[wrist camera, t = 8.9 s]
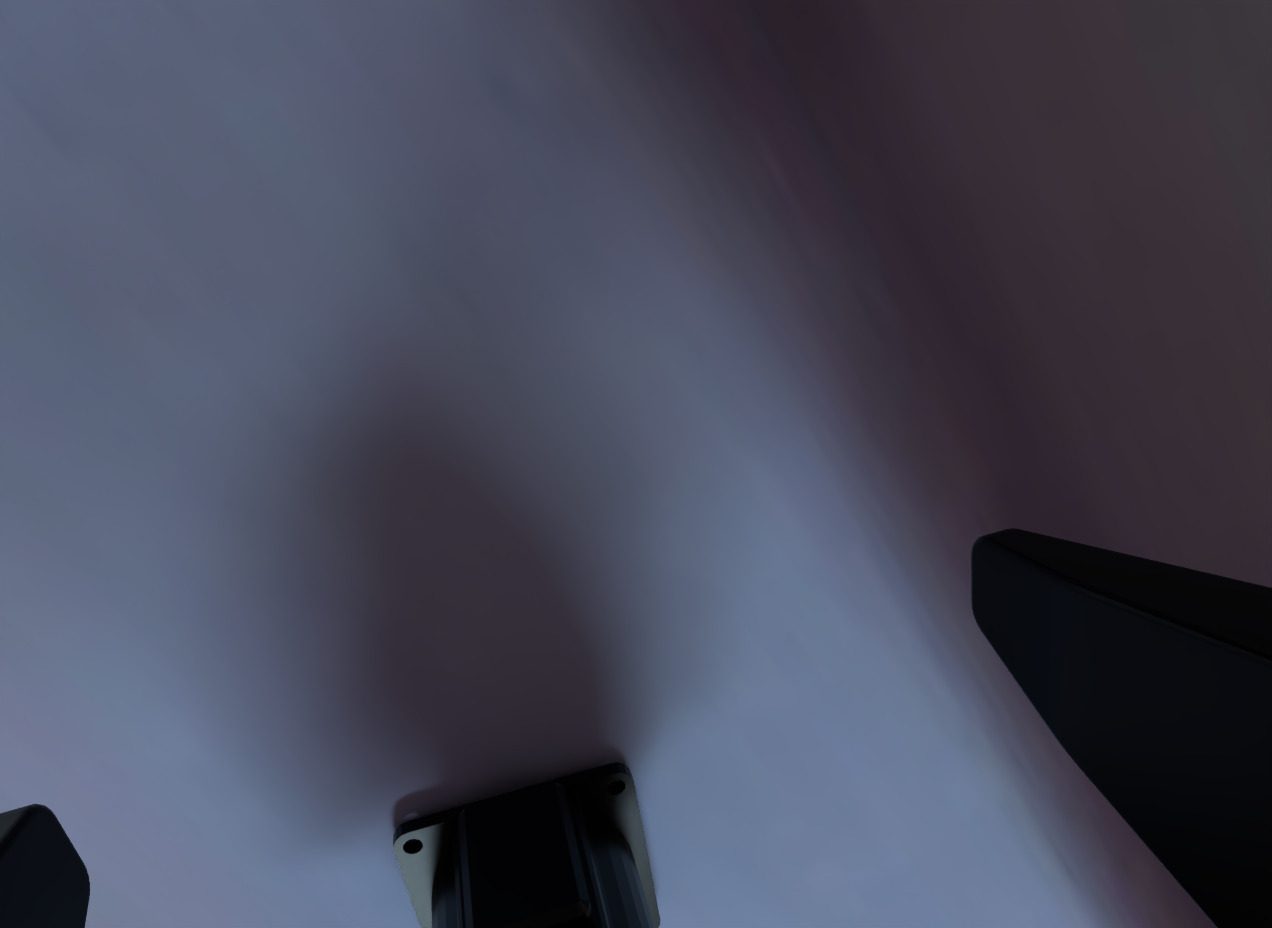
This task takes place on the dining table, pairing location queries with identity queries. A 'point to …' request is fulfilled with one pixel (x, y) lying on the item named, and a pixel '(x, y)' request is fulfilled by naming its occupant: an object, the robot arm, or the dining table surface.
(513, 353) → the dining table surface
